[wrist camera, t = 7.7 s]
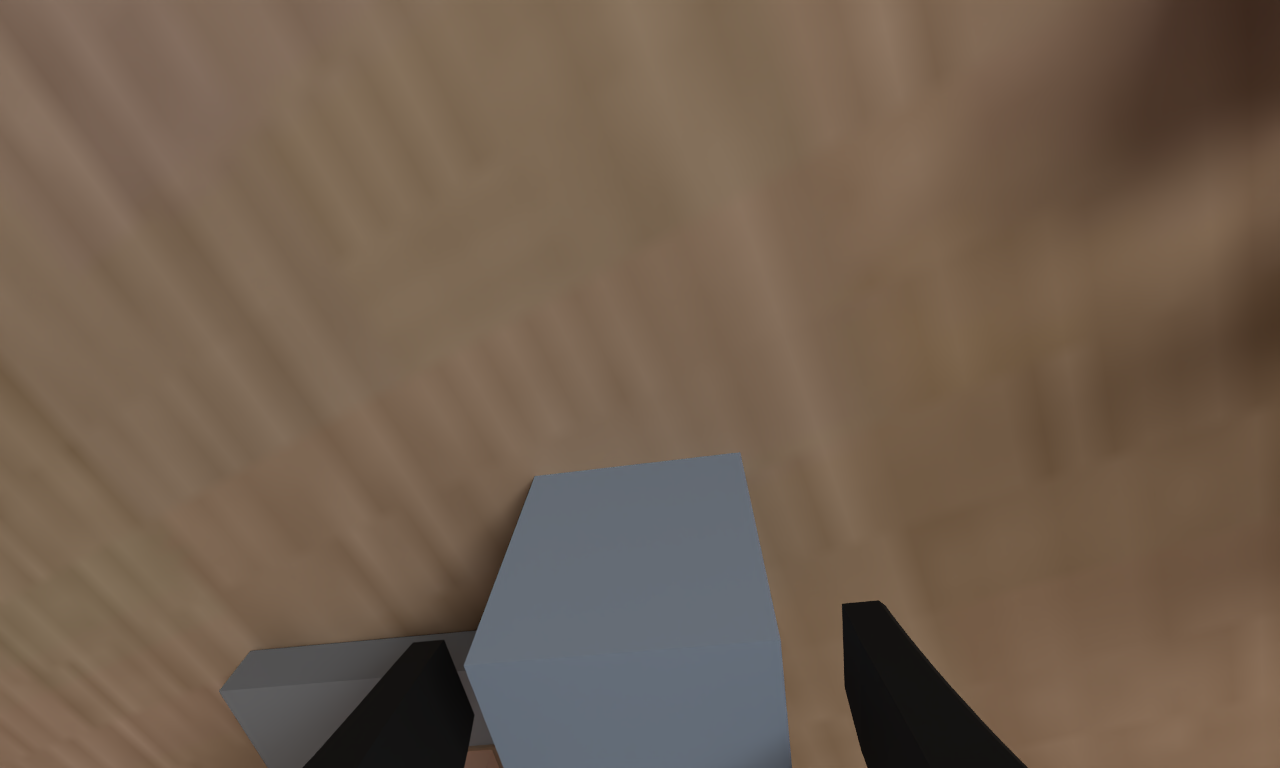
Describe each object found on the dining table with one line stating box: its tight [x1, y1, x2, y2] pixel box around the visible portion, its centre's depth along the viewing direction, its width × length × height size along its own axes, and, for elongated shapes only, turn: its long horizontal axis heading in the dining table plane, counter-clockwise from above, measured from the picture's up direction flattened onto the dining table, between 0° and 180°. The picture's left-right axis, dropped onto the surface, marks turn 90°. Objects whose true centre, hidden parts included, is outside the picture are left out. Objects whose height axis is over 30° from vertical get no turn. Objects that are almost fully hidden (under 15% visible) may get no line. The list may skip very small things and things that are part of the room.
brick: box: [464, 453, 792, 768], centre depth 11 cm, size 4×4×5 cm
